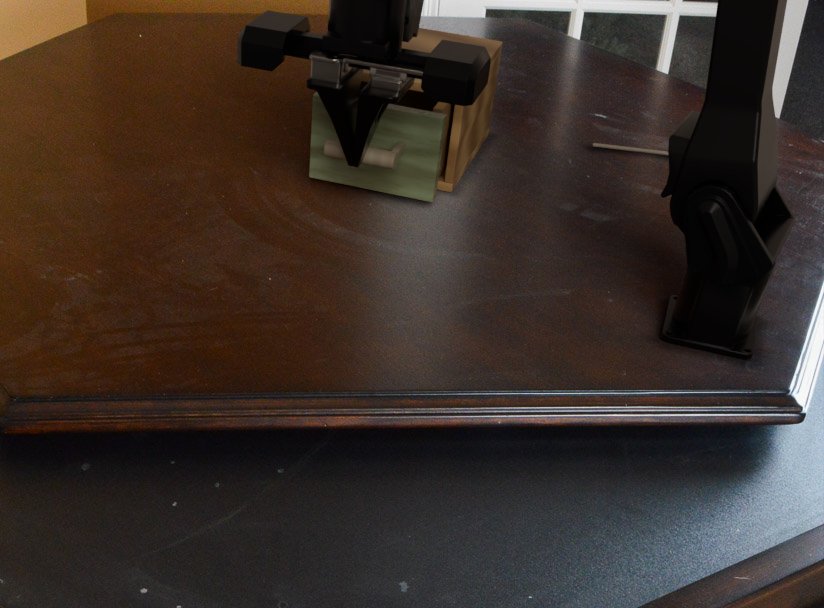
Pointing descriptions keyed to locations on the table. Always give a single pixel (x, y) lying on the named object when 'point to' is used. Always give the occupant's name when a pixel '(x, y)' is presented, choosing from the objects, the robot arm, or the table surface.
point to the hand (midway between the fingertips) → (354, 165)
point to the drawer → (388, 148)
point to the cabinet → (467, 120)
